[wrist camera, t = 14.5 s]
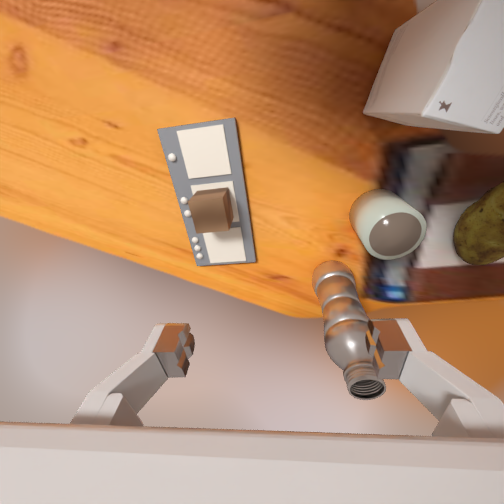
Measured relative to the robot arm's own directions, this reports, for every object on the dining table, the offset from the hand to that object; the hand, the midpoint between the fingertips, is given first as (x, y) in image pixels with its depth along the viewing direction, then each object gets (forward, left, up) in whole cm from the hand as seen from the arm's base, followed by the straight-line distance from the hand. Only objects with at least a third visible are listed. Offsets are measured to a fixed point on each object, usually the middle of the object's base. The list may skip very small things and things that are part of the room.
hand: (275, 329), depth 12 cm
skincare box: (-9, +15, -27) cm, 32 cm away
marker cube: (+3, -9, -26) cm, 28 cm away
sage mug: (+7, +14, -27) cm, 31 cm away
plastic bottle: (+17, +8, -27) cm, 33 cm away
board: (+3, -9, -27) cm, 29 cm away
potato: (+8, +28, -27) cm, 40 cm away
